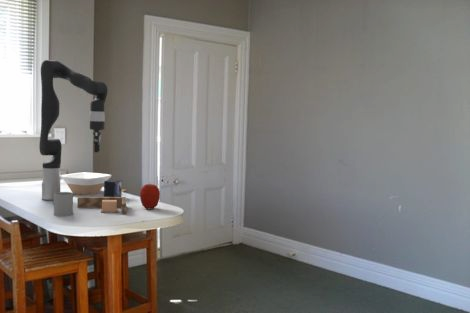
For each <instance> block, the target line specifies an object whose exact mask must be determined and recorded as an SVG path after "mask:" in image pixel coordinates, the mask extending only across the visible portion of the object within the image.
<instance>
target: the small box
mask: <svg viewBox="0 0 470 313" xmlns="http://www.w3.org/2000/svg"><path fill="white" fill-rule="evenodd" d="M122 181H123V180H122V179H116V178H115V179H114V178H111V179H110V178H109V179H108V180H106V181H104V185H103V197H122V192H123V191H122V190H123V189H122V187H123V186H122V183H123V182H122Z"/></svg>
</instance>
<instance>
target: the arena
mask: <svg viewBox="0 0 470 313" xmlns="http://www.w3.org/2000/svg"><path fill="white" fill-rule="evenodd" d="M102 200H117V208H121V215H127V197H126V196H121V197H104V196H77V200H76V201H77V202H76V203H77V205H76V206H77V208H79V209H80V208H102Z"/></svg>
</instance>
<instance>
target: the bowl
mask: <svg viewBox="0 0 470 313" xmlns="http://www.w3.org/2000/svg"><path fill="white" fill-rule="evenodd" d="M110 178H112V174H110V173H109V174H108V173H100V172H84V171H83V172H74V173H68V174H66V173H65V174H60V180H61V179H62V181H64V183H66V185H67V186H68V188H69V190H70V191H71V193H73V194H75V195H82V196H83V195H84V196H85V195H86V196H88V195H89V196H90V195H94V194H99V193H100V192H101V190H102V189H103V188H104V181H106V180H110Z"/></svg>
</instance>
